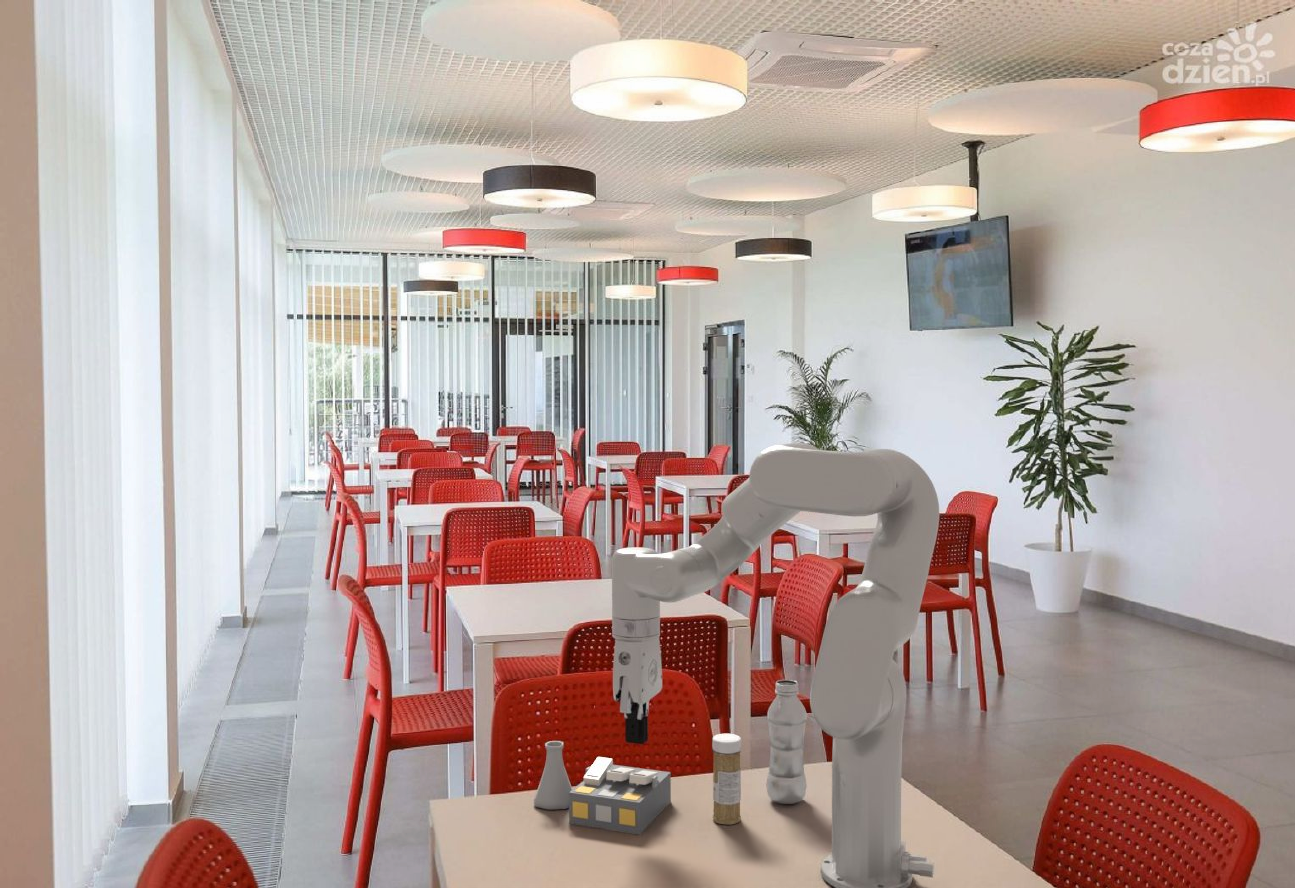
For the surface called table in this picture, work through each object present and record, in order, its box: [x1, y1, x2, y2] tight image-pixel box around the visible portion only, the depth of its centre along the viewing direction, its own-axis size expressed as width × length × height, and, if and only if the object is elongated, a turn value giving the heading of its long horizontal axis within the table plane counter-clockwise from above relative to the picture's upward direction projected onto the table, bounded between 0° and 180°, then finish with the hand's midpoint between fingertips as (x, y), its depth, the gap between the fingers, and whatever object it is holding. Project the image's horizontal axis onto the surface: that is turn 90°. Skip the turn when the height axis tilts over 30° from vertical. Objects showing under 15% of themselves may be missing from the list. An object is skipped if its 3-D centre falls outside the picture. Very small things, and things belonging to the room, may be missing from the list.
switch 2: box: [606, 767, 636, 781], centre depth 170 cm, size 3×6×1 cm, turn 159°
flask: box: [533, 740, 574, 810], centre depth 174 cm, size 7×7×10 cm
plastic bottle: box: [766, 679, 808, 805], centre depth 174 cm, size 6×7×20 cm
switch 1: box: [583, 756, 614, 786], centre depth 171 cm, size 3×6×1 cm, turn 159°
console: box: [568, 764, 672, 836], centre depth 170 cm, size 12×14×7 cm
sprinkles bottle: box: [711, 732, 742, 825], centre depth 166 cm, size 5×5×14 cm
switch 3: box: [629, 770, 658, 785], centre depth 168 cm, size 3×6×1 cm, turn 159°
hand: (636, 741), depth 165 cm, fingers closed
